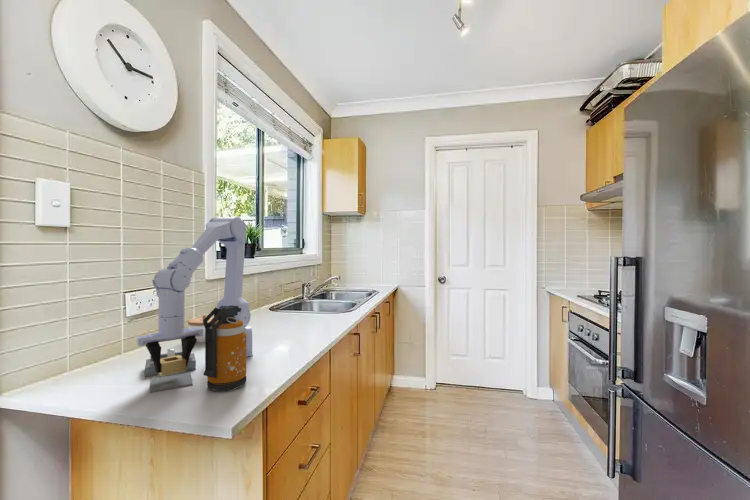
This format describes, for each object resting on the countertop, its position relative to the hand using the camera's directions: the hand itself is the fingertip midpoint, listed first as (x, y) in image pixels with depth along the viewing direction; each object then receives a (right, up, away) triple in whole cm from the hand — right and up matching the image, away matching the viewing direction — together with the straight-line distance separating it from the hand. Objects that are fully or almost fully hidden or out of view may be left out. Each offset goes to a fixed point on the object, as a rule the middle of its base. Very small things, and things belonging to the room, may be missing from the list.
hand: (171, 368), depth 88 cm
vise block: (-6, -4, +10) cm, 13 cm away
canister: (+15, -4, -3) cm, 15 cm away
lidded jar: (-12, -4, +41) cm, 43 cm away
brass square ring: (0, -1, 0) cm, 1 cm away
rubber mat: (0, -4, 0) cm, 4 cm away
